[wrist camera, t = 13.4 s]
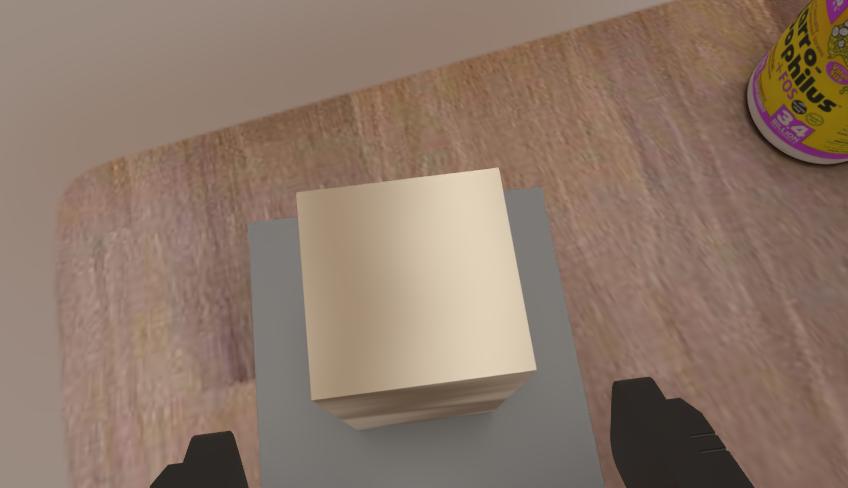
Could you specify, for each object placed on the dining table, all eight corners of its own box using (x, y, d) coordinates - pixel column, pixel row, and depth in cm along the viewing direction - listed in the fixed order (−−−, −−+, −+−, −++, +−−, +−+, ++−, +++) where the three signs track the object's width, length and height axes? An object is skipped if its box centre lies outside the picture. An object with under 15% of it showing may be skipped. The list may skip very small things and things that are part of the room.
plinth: (527, 221, 31) (541, 186, 27) (581, 493, 27) (607, 496, 23) (270, 254, 30) (247, 223, 27) (287, 536, 26) (263, 546, 23)
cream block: (472, 281, 26) (498, 167, 16) (493, 411, 24) (536, 369, 15) (344, 297, 25) (296, 192, 16) (357, 430, 24) (311, 400, 14)
